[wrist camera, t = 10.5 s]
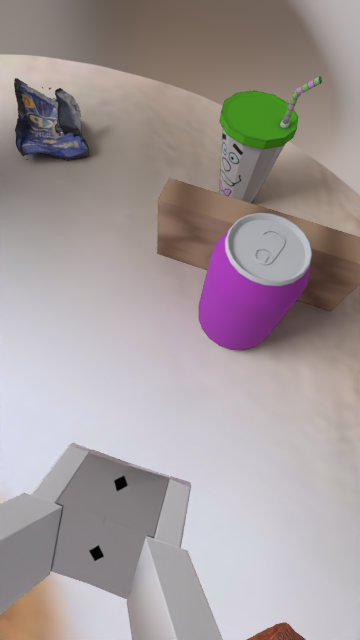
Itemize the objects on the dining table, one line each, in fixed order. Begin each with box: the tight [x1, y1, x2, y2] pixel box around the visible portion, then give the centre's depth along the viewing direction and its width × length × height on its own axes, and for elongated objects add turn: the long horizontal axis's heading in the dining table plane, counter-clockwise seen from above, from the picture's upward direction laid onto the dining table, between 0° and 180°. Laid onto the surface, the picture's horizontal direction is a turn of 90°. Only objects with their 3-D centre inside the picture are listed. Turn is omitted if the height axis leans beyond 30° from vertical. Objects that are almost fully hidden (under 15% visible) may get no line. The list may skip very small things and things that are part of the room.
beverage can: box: [199, 213, 312, 350], centre depth 29 cm, size 8×8×12 cm
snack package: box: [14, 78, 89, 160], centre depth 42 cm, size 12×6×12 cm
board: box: [157, 178, 360, 311], centre depth 33 cm, size 20×3×8 cm, turn 71°
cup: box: [219, 76, 321, 203], centre depth 35 cm, size 8×8×15 cm
